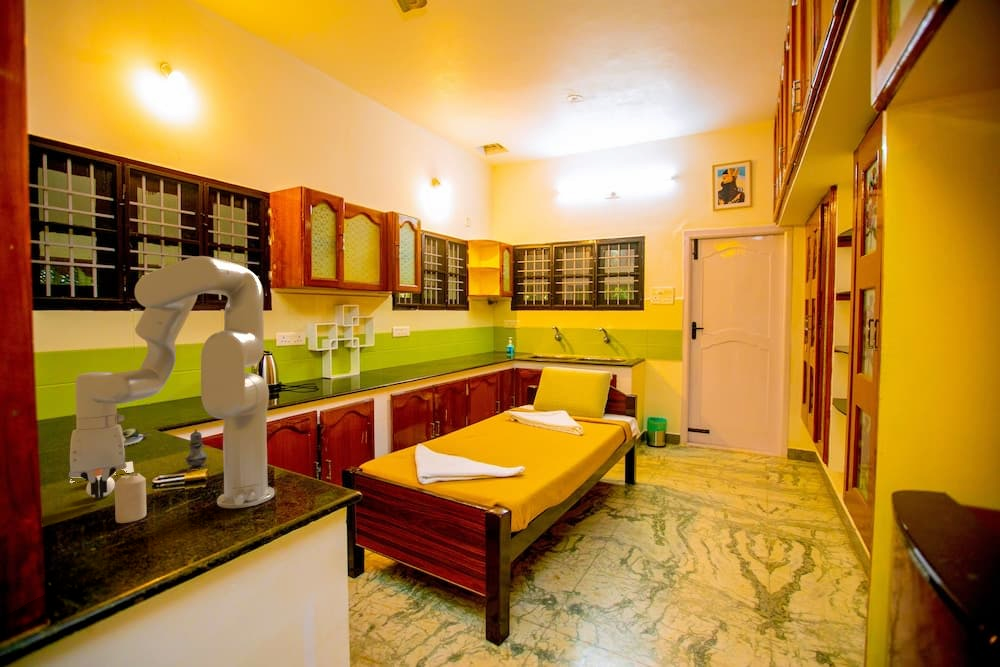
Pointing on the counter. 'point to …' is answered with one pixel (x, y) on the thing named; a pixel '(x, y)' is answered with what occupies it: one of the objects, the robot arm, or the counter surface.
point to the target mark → (128, 469)
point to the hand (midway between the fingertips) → (99, 496)
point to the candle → (130, 498)
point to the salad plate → (132, 436)
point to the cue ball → (109, 485)
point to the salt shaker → (196, 452)
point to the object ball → (99, 472)
